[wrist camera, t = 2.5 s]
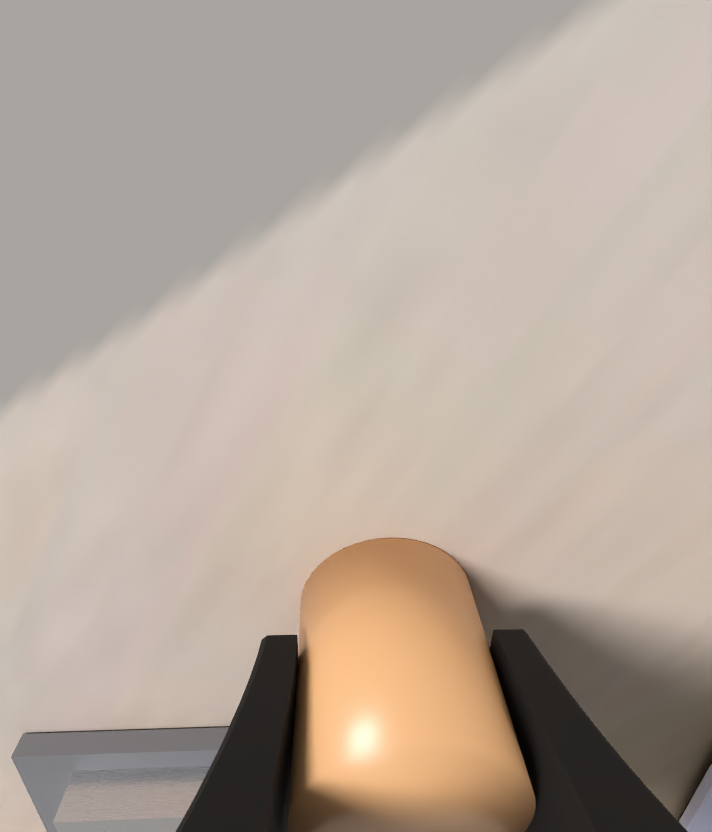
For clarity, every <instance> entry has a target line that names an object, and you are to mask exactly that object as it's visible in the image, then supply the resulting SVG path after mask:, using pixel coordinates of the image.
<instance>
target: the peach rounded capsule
mask: <svg viewBox="0 0 712 832" xmlns="http://www.w3.org/2000/svg"><path fill="white" fill-rule="evenodd" d="M535 808H536V800H535V795H534V792H533V788H532V785H531V782H530V779H529V775H528V772H527V769H526V766H525V762H524V759H523V756H522V753H521V749H520V746H519V743H518V740H517V736H516V733H515V730H514V727H513V724H512V720H511V717H510V714H509V711H508V707H507V704H506V701H505V698H504V694H503V691H502V688H501V685H500V682H499V678H498V675H497V672H496V669H495V665H494V662H493V659H492V656H491V652H490V649H489V646H488V643H487V639H486V636H485V633H484V630H483V627H482V623H481V620H480V617H479V614H478V610H477V607H476V604H475V601H474V597H473V594H472V591H471V588H470V585H469V581H468V578H467V576H466V574H465V572H464V570H463V569H462V568H461V566H460V565H459V564H458V563H457V562H456V561H455V560H454V559H453V558H452V557H451V556H449V555H448V554H447V553H445V552H444V551H442V550H440V549H438V548H436V547H434V546H432V545H429V544H426V543H423V542H420V541H416V540H410V539H403V538H382V539H374V540H368V541H364V542H360V543H357V544H354V545H351V546H349V547H346V548H344V549H342V550H340V551H338V552H336V553H334V554H333V555H331V556H330V557H328V558H327V559H326V560H324V561H323V562H322V563H321V564H320V565H319V566H318V567H317V568H316V569H315V570H314V571H313V573H312V574H311V575H310V577H309V579H308V580H307V582H306V584H305V587H304V589H303V593H302V597H301V612H300V629H299V646H298V670H297V687H296V704H295V714H294V731H293V748H292V765H291V781H290V798H289V815H288V828H289V832H525V831H526V829H527V828H528V826H529V825H530V823H531V821H532V819H533V816H534V813H535Z"/></svg>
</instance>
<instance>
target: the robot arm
mask: <svg viewBox="0 0 712 832" xmlns="http://www.w3.org/2000/svg"><path fill="white" fill-rule="evenodd" d="M490 652H491V656H492V659H493V662H494V665H495V669H496V672H497V675H498V678H499V682H500V685H501V688H502V691H503V694H504V698H505V701H506V704H507V707H508V711H509V714H510V717H511V720H512V724H513V727H514V730H515V733H516V736H517V740H518V743H519V746H520V749H521V753H522V756H523V759H524V762H525V766H526V769H527V772H528V775H529V779H530V782H531V785H532V788H533V792H534V795H535V800H536V808H535V813H534V816H533V819H532V821H531V823H530V825H529V826H528V828H527V829H526V831H525V832H712V764H711V765H710V767H709V769H708V771H707V772H706V774H705V776H704V778H703V779H702V781H701V783H700V785H699V787H698V788H697V790H696V792H695V794H694V795H693V797H692V799H691V801H690V802H689V804H688V806H687V808H686V810H685V811H684V813H683V815H682V817H681V818H680V820H679V822H678V821H677V820H676V819H675V818H674V816H673V815H672V814H671V813H670V812H669V811H668V810H667V809H666V808H665V807H664V806H663V805H662V803H661V802H660V801H659V800H658V799H657V798H656V797H655V796H654V795H653V794H652V792H651V791H650V790H649V789H648V788H647V787H646V786H645V785H644V783H643V782H642V781H641V780H640V779H639V778H638V776H637V775H636V774H635V773H634V772H633V771H632V770H631V768H630V767H629V766H628V765H627V764H626V763H625V761H624V760H623V759H622V758H621V757H620V756H619V754H618V753H617V752H616V751H615V750H614V748H613V747H612V746H611V745H610V743H609V742H608V741H607V740H606V739H605V737H604V736H603V735H602V734H601V732H600V731H599V730H598V729H597V727H596V726H595V725H594V724H593V722H592V721H591V720H590V718H589V717H588V716H587V715H586V713H585V712H584V711H583V710H582V708H581V707H580V706H579V705H578V703H577V702H576V701H575V699H574V698H573V697H572V695H571V694H570V693H569V691H568V690H567V689H566V687H565V686H564V685H563V683H562V682H561V681H560V679H559V678H558V677H557V675H556V674H555V672H554V671H553V670H552V668H551V667H550V666H549V664H548V663H547V661H546V660H545V659H544V657H543V656H542V654H541V653H540V651H539V650H538V649H537V647H536V646H535V644H534V643H533V641H532V640H531V639H530V637H529V636H528V634H527V633H526V632H525V631H524V630H523V629H518V630H494V631H493V636H492V641H491V646H490ZM297 670H298V643H297V635H270V636H266V637H265V638H263V639H262V641H261V645H260V648H259V652H258V655H257V658H256V661H255V665H254V667H253V670H252V673H251V676H250V679H249V681H248V684H247V686H246V689H245V691H244V694H243V696H242V699H241V701H240V704H239V706H238V708H237V711H236V713H235V715H234V717H233V720H232V722H231V724H230V726H229V728H228V731H227V733H226V735H225V737H224V740H223V742H222V744H221V746H220V748H219V750H218V752H217V754H216V756H215V758H214V760H213V762H212V764H211V766H210V768H209V770H208V772H207V774H206V776H205V778H204V780H203V782H202V784H201V786H200V788H199V790H198V792H197V794H196V796H195V797H194V799H193V801H192V803H191V805H190V807H189V809H188V810H187V812H186V814H185V816H184V818H183V819H182V821H181V823H180V825H179V827H178V828H177V830H176V832H289V828H288V815H289V798H290V781H291V765H292V748H293V731H294V714H295V704H296V687H297Z"/></svg>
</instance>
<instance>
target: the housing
mask: <svg viewBox="0 0 712 832" xmlns="http://www.w3.org/2000/svg"><path fill="white" fill-rule="evenodd" d="M228 728H229V727H218V728H187V729H157V730H126V731H95V732H64V733H33V734H23V735H22V737H21V739H20V741H19V743H18V745H17V747H16V749H15V751H14V753H13V755H12V757H11V758H12V760H13V762H14V764H15V766H16V768H17V770H18V772H19V774H20V776H21V778H22V780H23V782H24V785H25V787H26V789H27V791H28V793H29V795H30V797H31V799H32V801H33V803H34V805H35V807H36V809H37V812H38V814H39V816H40V818H41V820H42V822H43V824H44V826H45V828H46V830H47V832H176V830H177V828H178V827H179V825H180V823H181V821H182V819H183V818H184V816H185V814H186V812H187V810H188V809H189V807H190V805H191V803H192V801H193V799H194V797H195V796H196V794H197V792H198V790H199V788H200V786H201V784H202V782H203V780H204V778H205V776H206V774H207V772H208V770H209V768H210V766H211V764H212V762H213V760H214V758H215V756H216V754H217V752H218V750H219V748H220V746H221V744H222V742H223V740H224V737H225V735H226V733H227V731H228Z"/></svg>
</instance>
